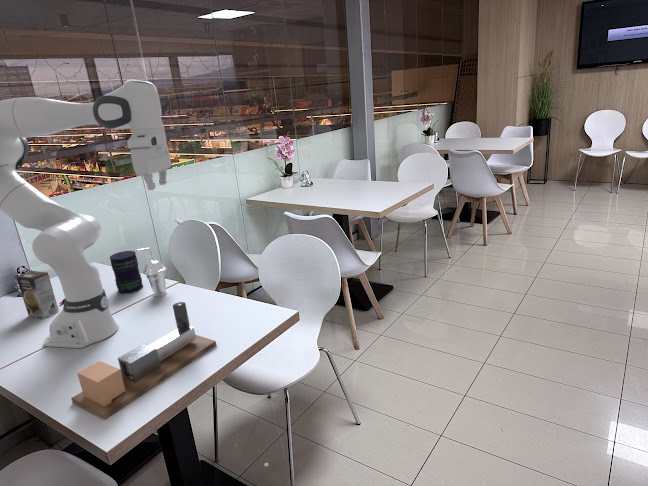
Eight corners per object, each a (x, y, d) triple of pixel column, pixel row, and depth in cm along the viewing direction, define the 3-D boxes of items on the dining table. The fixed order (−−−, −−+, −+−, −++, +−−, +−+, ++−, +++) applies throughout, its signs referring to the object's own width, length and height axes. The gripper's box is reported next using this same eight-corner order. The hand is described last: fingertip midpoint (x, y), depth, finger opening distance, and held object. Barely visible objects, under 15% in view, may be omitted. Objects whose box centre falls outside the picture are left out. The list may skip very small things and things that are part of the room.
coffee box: (27, 316, 172) (14, 276, 167) (43, 308, 177) (31, 270, 172) (44, 319, 168) (32, 278, 163) (60, 311, 174) (48, 271, 169)
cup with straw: (171, 295, 178) (160, 247, 172) (146, 300, 176) (135, 251, 170) (171, 287, 186) (161, 240, 180) (148, 292, 184) (137, 244, 178)
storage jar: (147, 287, 189) (140, 253, 184) (124, 296, 182) (116, 260, 178) (136, 282, 195) (128, 249, 191) (113, 290, 189) (105, 256, 184)
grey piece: (187, 336, 141) (179, 300, 137) (196, 339, 138) (188, 303, 135) (126, 372, 124) (116, 333, 120) (136, 376, 122) (126, 336, 118)
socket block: (105, 383, 122) (99, 360, 120) (126, 392, 117) (119, 369, 115) (84, 396, 117) (77, 372, 115) (104, 406, 112) (97, 382, 110)
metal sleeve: (147, 361, 130) (143, 343, 129) (160, 366, 127) (156, 348, 125) (122, 377, 124) (117, 358, 122) (135, 382, 121) (130, 363, 119)
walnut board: (185, 335, 146) (184, 331, 146) (216, 345, 139) (215, 340, 138) (72, 403, 117) (71, 398, 117) (104, 419, 110) (102, 414, 109)
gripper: (152, 137, 142) (159, 182, 146) (124, 142, 123) (133, 193, 126) (172, 136, 142) (179, 181, 146) (147, 140, 122) (156, 192, 126)
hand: (157, 187), depth 136 cm, fingers open, 8 cm apart
